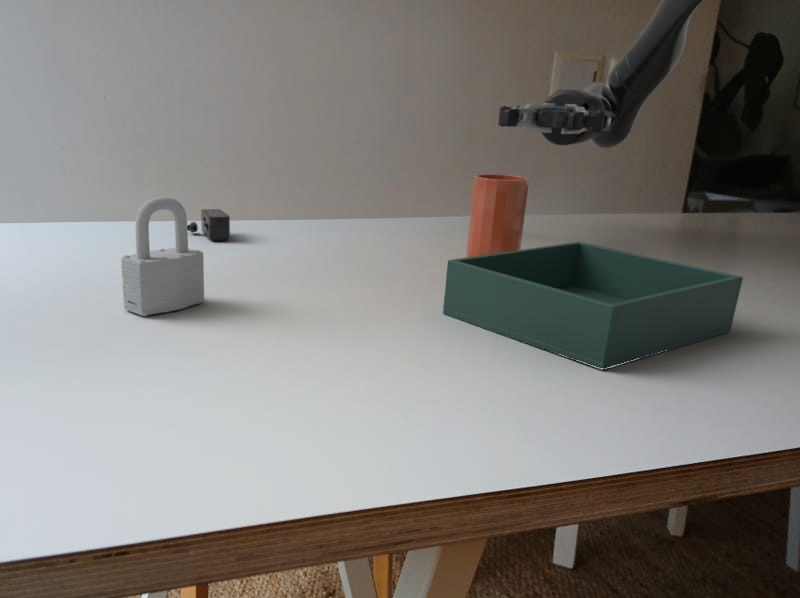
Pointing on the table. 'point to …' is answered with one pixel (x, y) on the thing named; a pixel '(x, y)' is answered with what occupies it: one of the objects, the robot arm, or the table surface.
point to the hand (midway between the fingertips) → (537, 119)
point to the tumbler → (496, 214)
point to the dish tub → (591, 300)
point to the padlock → (162, 266)
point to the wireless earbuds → (213, 224)
